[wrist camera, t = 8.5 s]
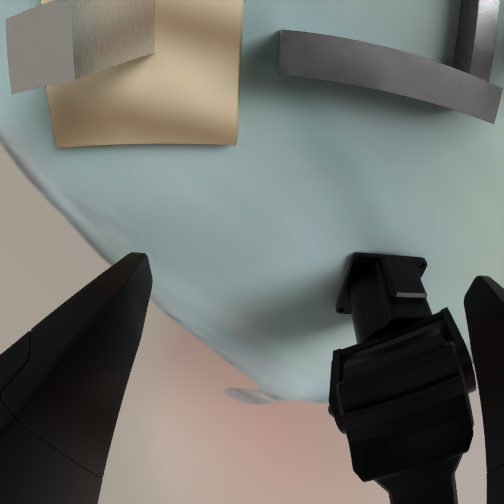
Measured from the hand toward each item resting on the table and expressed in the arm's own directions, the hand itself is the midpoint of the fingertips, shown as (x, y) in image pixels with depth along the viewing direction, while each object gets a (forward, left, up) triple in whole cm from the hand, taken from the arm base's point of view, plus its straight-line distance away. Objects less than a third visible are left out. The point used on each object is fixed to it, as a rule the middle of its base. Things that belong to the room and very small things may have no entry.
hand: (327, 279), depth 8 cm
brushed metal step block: (+8, +9, -12) cm, 17 cm away
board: (+6, +9, -13) cm, 17 cm away
